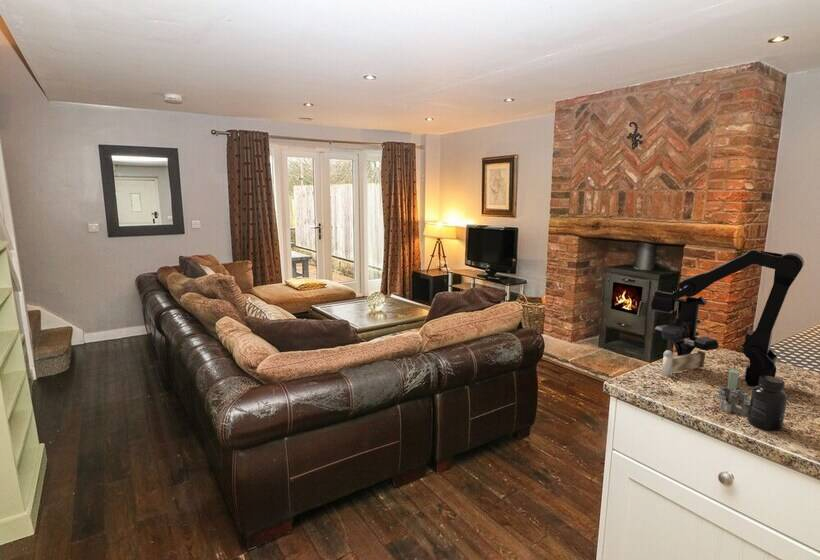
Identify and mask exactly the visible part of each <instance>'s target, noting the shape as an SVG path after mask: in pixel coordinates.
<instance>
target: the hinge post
mask: <svg viewBox="0 0 820 560" xmlns="http://www.w3.org/2000/svg"><path fill="white" fill-rule="evenodd" d="M672 357H674V352H673V351H672V350H669V349H668V350H667V349H666V350H665V351H664V352H663V359H662V366H661V376H665V377H670V376H671V365H672Z"/></svg>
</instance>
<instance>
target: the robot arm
mask: <svg viewBox="0 0 820 560" xmlns="http://www.w3.org/2000/svg"><path fill="white" fill-rule="evenodd" d="M752 265H757V266H761V267H765V268H768V269H771V270H772V269H773V270H774V276H773V284H772V287H771V289H770V291H769V295H768V298H767V300H766V303H765V305H764V307H763V309H762V313H761V315H760V317H759V321H758V323H757V326H756V328H755V329H754V331H753V330H751V329H748V331H747V332H746V333H745V336H744V341H743V342H742V344H741V347H743V349H742V352H743V354H744V356H745V357H746V358H747V359H748V360H749V361H748V365H746V366H745V371H744V376H743V377H744V381H745V383H746V385H747V386H751V387H756V386H759V384H758V382H759V378H760V376H772V377H776V373H777V370H778V369H777V365H776V363H777V359H778V358H779V357H778V356H777V354H776V353H775V352H774V351H772V349H771V344H772V335H773V329H774V326H775V325H776V321H777V319H778V316H779V314H780V312H781V309H782V307H783V304H784V302H785V299H786V296H787V294H788V293H789V292H788V291H789V289H790V288H791V285H792V284H793V282H794V281H795V280H796V278H797V277H798V275H799V274H800V272H801V271H802V269H803V267H804V265H805V260H804V258H803V257H802V255H800V254H799V253H795V252H787V253H784V254H782V253H777V252H772V251H771V252H770V251H764V250H760V249H757V248H755V249H750V250H749V251H747V252H746V253H744V254H742V255H740V256H737V257H736V258H733V259H732V260H730V261H727V262H725V263H723V264H721V265H719V266H717V267H715V268H713V269H711V270H709V271H705V272H702V273H697V274H695V275H692V276H689V277H686V278H684V279H682V280H681V281H680V282H679V284H678V289H677V290H675V291H673V292H667V291H662V290H655V291H654V295H653V298H652V301H651V304H650V306H651V307H650V309H651V311H653V312H659V313H665V314H666V313H667V314H672V313H673V312H677V313H676V317H674V318H673V320H672V323H670V324H663V325H657V326H656V327H654V331H653V334H654V335H656V336H659V337H662V339H663V340H667V341H669V342H670V343H672V345H674V348H675V350H676V354H677V356H681V355H687V354H692V352H693V351H694V350H695V348H696V349H698V350H700V351H704V352H706V351H713V350H717V349H719V342H718V340H717V339H715V338H712V337H708V336H702V337H701V336H700V337H697V336H699V333H700V332H699V331H697V327H698V324H701V319H698V318H699V311H700V306H705V305H707V304H708V301H707V300H706V299H705V298H704V297H703V296H702V295H701V296H699V297H695V296H696V295H698V294H699V293H701V292H702V291H704V290H705V289H706V288H708V287H710V286H711V285H712V284H714V283H716V282H718V281H720V280H722V279H724V278H726V277H728V276H731V275H732V274H735V273H737V272H740V271H741V270H743V269H745V268H747V267H749V266H752ZM683 297H686V298H683Z"/></svg>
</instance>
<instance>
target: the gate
mask: <svg viewBox="0 0 820 560" xmlns="http://www.w3.org/2000/svg"><path fill="white" fill-rule="evenodd" d="M705 358H706V351H704V350H697V352H693V353H690V354H687V355H681V356H678V355H676V356H673V357H672V365H671V373H677V372H682V371H687V370H693V369H694V370H695V369H699V368H704V366H705ZM671 373H670V374H671Z"/></svg>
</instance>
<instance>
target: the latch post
mask: <svg viewBox="0 0 820 560" xmlns="http://www.w3.org/2000/svg"><path fill="white" fill-rule="evenodd" d="M728 372H729V373H728V380H727V388H731V389H735V390H737V388H738V380H739V376H740V375H739V374H740V373H739V369H737V368H734V367H733V368H731V367H730V368H729V371H728Z"/></svg>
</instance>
